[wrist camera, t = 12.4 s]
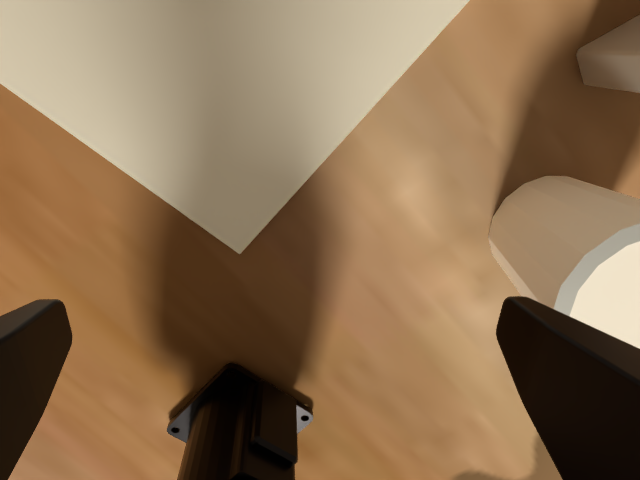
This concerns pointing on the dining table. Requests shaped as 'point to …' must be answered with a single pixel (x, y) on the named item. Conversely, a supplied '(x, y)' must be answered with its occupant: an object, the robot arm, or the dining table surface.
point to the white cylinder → (573, 251)
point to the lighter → (613, 58)
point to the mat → (214, 88)
